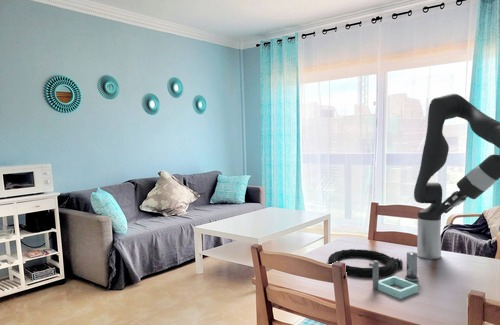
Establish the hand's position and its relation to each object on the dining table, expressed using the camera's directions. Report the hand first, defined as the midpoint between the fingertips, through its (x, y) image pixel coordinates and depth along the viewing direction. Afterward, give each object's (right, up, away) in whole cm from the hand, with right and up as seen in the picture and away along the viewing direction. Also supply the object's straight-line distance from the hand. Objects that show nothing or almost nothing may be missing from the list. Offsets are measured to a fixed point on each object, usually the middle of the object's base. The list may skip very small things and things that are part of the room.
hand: (439, 213), depth 128 cm
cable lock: (-19, -26, +24) cm, 40 cm away
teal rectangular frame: (-17, -27, -1) cm, 32 cm away
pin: (-6, -26, +8) cm, 28 cm away
